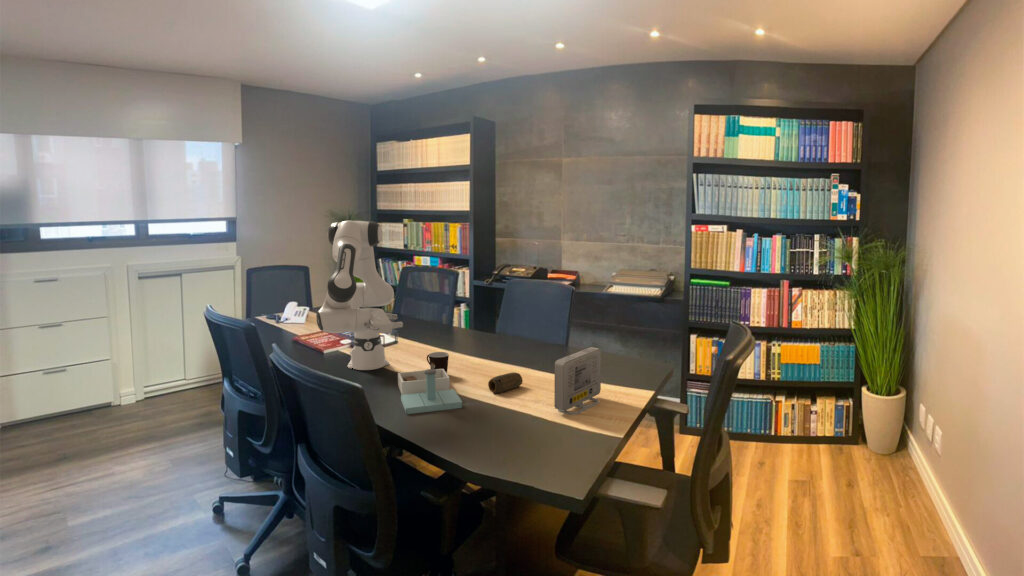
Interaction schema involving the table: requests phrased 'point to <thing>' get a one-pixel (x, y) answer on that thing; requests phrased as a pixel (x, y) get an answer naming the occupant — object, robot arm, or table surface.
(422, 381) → the tub
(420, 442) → the table surface
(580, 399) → the network device
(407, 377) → the walnut block
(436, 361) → the coffee mug
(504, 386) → the hollow wooden cylinder
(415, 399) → the lid
